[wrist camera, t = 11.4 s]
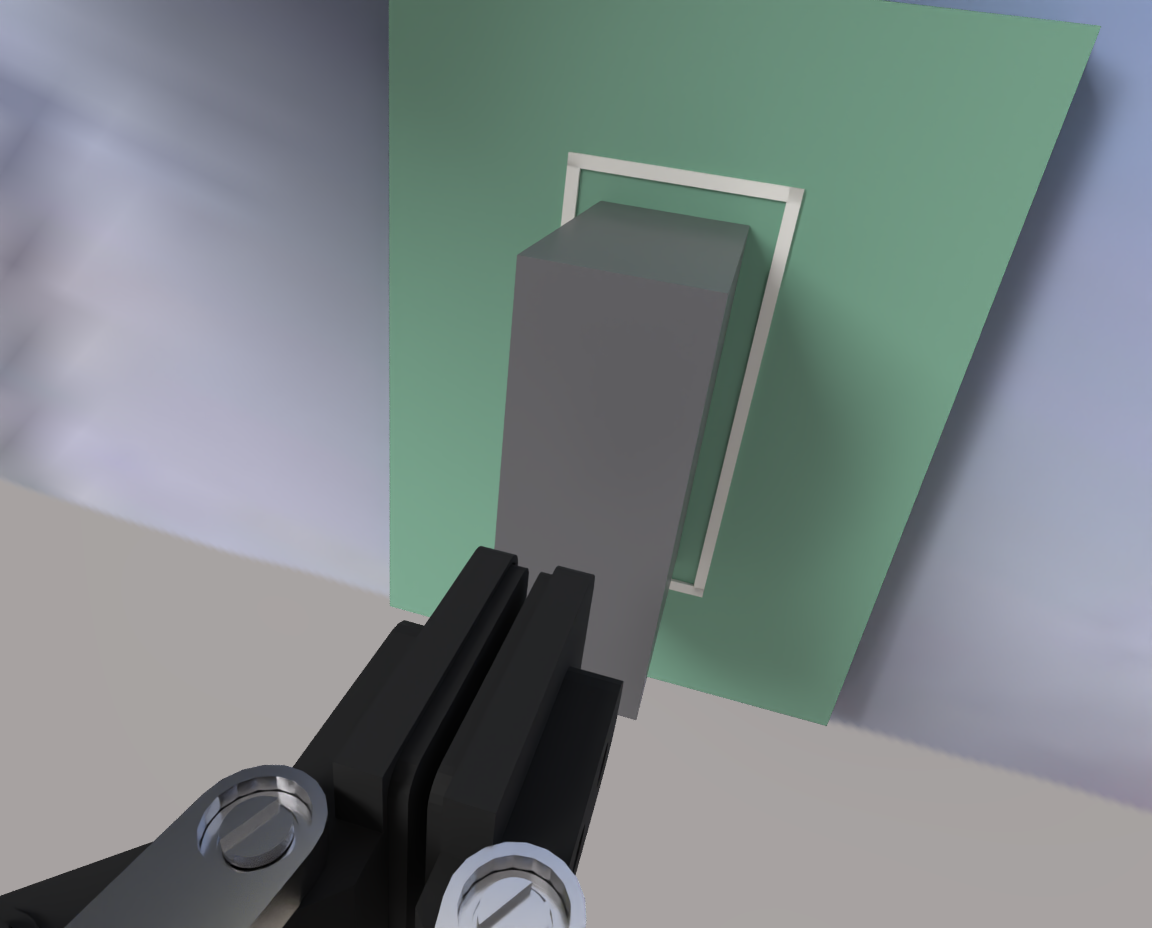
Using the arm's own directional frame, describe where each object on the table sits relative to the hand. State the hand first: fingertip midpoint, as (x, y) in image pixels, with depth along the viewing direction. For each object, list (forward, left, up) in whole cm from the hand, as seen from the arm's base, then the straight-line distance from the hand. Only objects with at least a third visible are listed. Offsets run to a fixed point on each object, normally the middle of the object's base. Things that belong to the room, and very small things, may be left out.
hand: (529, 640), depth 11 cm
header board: (0, 0, -11) cm, 11 cm away
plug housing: (0, 0, -10) cm, 10 cm away
